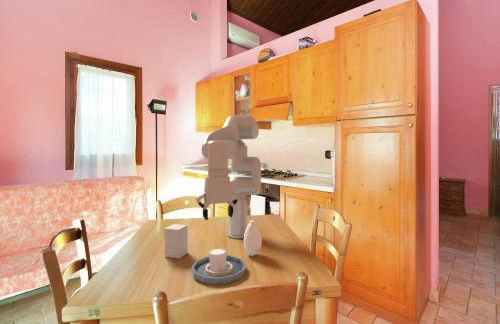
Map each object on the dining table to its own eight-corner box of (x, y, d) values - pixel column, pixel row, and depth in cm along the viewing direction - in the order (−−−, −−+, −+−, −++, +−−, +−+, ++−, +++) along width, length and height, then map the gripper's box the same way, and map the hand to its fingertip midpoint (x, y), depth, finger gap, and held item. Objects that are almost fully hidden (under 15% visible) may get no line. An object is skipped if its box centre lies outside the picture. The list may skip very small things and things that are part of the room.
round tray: (234, 257, 116) (234, 252, 116) (253, 278, 98) (253, 271, 97) (187, 265, 108) (187, 259, 108) (198, 289, 90) (198, 282, 90)
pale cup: (209, 265, 106) (209, 248, 105) (226, 265, 106) (226, 247, 106) (208, 273, 99) (208, 255, 99) (227, 273, 100) (227, 254, 99)
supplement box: (188, 252, 121) (188, 225, 120) (178, 259, 114) (178, 229, 113) (174, 250, 123) (173, 223, 123) (164, 256, 116) (163, 228, 116)
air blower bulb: (248, 260, 113) (248, 218, 112) (240, 253, 120) (240, 213, 119) (264, 256, 117) (265, 215, 116) (256, 250, 123) (256, 212, 122)
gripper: (235, 171, 109) (236, 213, 110) (193, 173, 102) (193, 217, 103) (242, 173, 102) (242, 217, 103) (197, 175, 95) (198, 223, 96)
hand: (218, 217), depth 103 cm, fingers open, 9 cm apart
